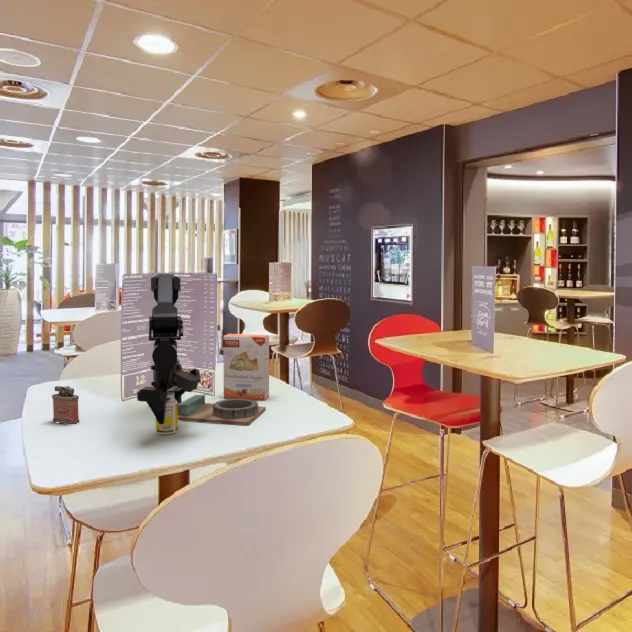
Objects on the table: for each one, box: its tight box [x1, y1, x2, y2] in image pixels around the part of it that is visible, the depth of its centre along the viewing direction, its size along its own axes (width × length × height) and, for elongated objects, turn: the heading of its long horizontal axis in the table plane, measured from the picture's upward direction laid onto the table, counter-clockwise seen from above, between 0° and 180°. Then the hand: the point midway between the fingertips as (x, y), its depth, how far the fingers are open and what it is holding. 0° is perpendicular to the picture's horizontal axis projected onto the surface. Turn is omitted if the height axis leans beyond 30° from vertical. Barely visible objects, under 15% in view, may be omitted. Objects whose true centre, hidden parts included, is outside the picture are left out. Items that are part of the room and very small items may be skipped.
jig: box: [178, 394, 267, 426], centre depth 151 cm, size 23×16×4 cm
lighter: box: [51, 385, 80, 425], centre depth 142 cm, size 8×3×10 cm, turn 71°
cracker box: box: [223, 333, 270, 401], centre depth 170 cm, size 14×6×21 cm, turn 81°
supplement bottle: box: [155, 392, 179, 436], centre depth 134 cm, size 6×6×10 cm
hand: (166, 420), depth 134 cm, fingers closed on supplement bottle, 6 cm apart
